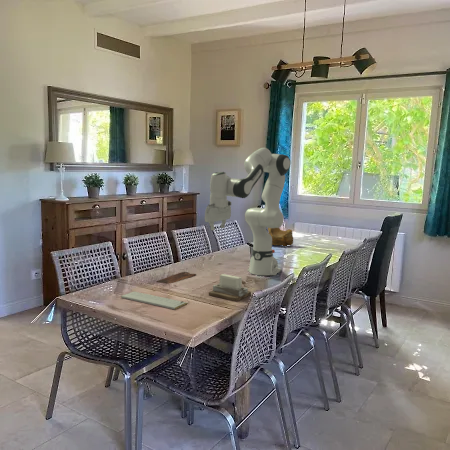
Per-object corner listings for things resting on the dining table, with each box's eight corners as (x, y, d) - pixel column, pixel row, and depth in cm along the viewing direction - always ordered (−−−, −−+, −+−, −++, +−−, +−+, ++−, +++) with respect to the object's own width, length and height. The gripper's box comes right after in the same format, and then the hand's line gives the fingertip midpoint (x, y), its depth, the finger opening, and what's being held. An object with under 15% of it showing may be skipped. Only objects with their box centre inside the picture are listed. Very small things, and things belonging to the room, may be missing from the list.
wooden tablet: (167, 283, 236) (153, 277, 241) (167, 286, 236) (153, 281, 242) (197, 273, 258) (184, 269, 263) (197, 277, 258) (184, 272, 263)
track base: (224, 288, 231) (224, 281, 230) (250, 294, 222) (251, 286, 222) (208, 295, 219) (209, 287, 219) (236, 301, 211) (236, 293, 210)
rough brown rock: (259, 245, 360) (259, 227, 357) (270, 241, 372) (271, 224, 369) (283, 251, 345) (283, 232, 342) (294, 246, 358) (295, 228, 354)
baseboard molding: (137, 292, 222) (121, 299, 211) (137, 287, 221) (121, 293, 211) (189, 303, 207) (174, 311, 196) (189, 297, 206) (174, 304, 196)
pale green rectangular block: (222, 289, 225) (223, 273, 224) (241, 293, 219) (241, 277, 218) (219, 290, 222) (219, 275, 221) (238, 294, 217) (238, 278, 215)
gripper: (212, 205, 222) (211, 232, 225) (233, 202, 240) (232, 227, 242) (201, 204, 226) (201, 230, 228) (223, 201, 243) (222, 226, 245)
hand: (217, 229), depth 235 cm, fingers open, 8 cm apart
